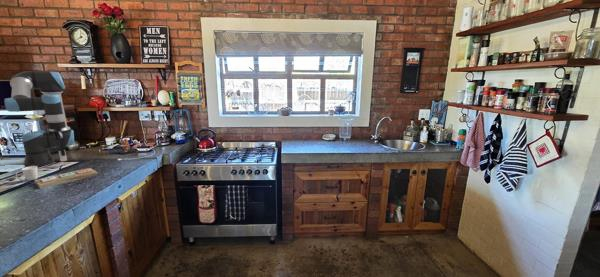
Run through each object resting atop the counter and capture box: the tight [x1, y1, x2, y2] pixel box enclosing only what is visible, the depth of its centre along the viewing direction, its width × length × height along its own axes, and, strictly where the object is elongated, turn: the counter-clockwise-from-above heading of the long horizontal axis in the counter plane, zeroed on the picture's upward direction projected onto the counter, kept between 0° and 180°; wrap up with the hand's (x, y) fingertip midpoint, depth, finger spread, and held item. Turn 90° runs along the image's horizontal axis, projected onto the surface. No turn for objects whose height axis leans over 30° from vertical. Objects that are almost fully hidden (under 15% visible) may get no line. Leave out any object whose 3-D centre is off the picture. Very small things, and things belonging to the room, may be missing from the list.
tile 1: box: [39, 175, 57, 183], centre depth 145 cm, size 6×6×3 cm
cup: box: [15, 166, 39, 182], centre depth 148 cm, size 7×10×8 cm
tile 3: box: [75, 168, 91, 175], centre depth 158 cm, size 6×6×3 cm
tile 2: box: [58, 171, 75, 179], centre depth 151 cm, size 6×6×3 cm
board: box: [33, 167, 99, 190], centre depth 151 cm, size 13×26×2 cm, turn 145°
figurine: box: [118, 138, 137, 156], centre depth 209 cm, size 10×10×12 cm
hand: (63, 160), depth 149 cm, fingers closed
